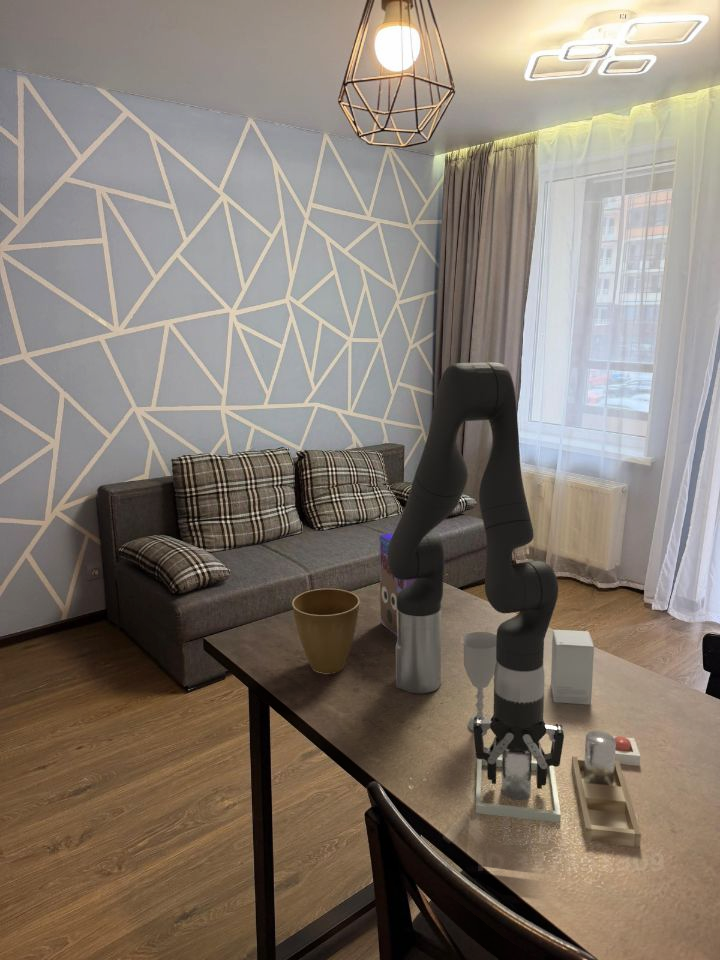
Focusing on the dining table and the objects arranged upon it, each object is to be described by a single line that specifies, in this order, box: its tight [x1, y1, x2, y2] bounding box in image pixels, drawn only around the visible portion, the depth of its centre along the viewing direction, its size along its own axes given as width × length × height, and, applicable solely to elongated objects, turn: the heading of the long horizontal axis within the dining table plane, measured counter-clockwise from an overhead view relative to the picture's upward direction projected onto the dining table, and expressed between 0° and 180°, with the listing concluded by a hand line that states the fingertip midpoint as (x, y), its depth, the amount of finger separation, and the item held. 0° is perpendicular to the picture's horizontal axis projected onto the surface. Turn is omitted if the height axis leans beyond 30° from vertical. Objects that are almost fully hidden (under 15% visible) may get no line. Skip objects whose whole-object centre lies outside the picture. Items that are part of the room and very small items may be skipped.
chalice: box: [460, 631, 497, 732], centre depth 121 cm, size 7×7×18 cm
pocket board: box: [571, 755, 642, 848], centre depth 101 cm, size 7×17×3 cm, turn 169°
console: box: [612, 735, 641, 767], centre depth 112 cm, size 5×5×3 cm
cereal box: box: [378, 532, 416, 637], centre depth 160 cm, size 17×5×24 cm, turn 25°
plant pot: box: [291, 588, 361, 673], centre depth 146 cm, size 15×15×16 cm
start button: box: [614, 735, 630, 752], centre depth 112 cm, size 3×3×2 cm
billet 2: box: [583, 730, 616, 786], centre depth 104 cm, size 4×4×8 cm
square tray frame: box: [475, 756, 562, 823], centre depth 104 cm, size 12×12×2 cm
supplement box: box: [550, 629, 595, 706], centre depth 132 cm, size 7×7×13 cm
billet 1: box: [501, 747, 533, 801], centre depth 103 cm, size 4×4×8 cm
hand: (516, 782), depth 104 cm, fingers open, 6 cm apart
